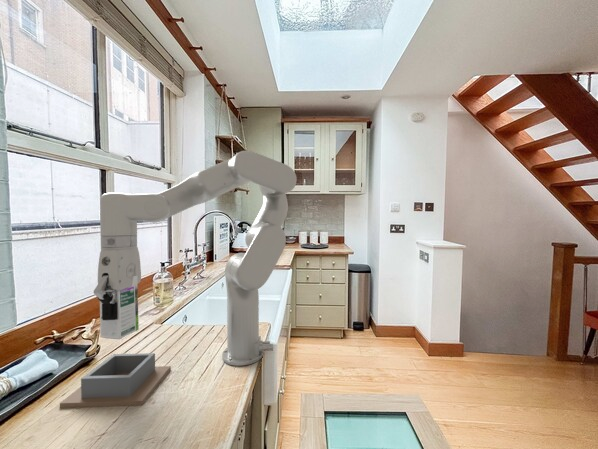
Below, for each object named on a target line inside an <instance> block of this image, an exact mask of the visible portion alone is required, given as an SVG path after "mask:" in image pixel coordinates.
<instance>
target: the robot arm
mask: <svg viewBox="0 0 598 449" xmlns="http://www.w3.org/2000/svg"><path fill="white" fill-rule="evenodd" d="M297 181H298V180H297V175H296V172H295V170H294V169H292V167H291V166H288V164H286V163H284V162H283V163H282V162H281V161H278V160H276V159H273V158H271V157H268V156H266V155H262V154H260V153H258V152H255V151H254V152H253V151H251V150H241V151H239V152H237V153H236V154H235V155H234V156H232V157H230V158H229V159H225V160H223V161H221V162H219V163H217V164H215V165H214V164H213V165H212V166H210V167H207V168H205V169H201V170H200V171H199V170H198V171H196V172H195V173H193V174H192V175H190V176H189V177H187V178H186V179H184V180H183V181H181V182H180V183H178V184H176V185H174V186H172V187H169V189H165V190H163V191H161V192H158V193H155V192H154V193H153V192H152V193H151V192H149V193H135V194H134V193H133V194H131V193H127V192H126V193H124V192H107V193H103V194H101V196H100V198H99V199H100V202H99V203H100V204H99V206H100V213H99V214H100V216H99V217H100V252H99V258H98V264H97V265H98V267H97V285H96V286H95V288H94V290H93V294H94V295H95V297H97V300H98V301H99V304H100V303H101V304H102V320H116V319H117V302H115V301H116V297H117V291H122V290H125V289H127V288H129V287H131V286H132V283H133V277H134V276H135V275H137V283H138V284H139V283H140V282H141V281H142V270H141V267H142V266H141V257H140V251H139V247H138V222H146V223H153V224H154V223H160V222H162V221H165V220H167V219H169V218H171V217H173V216H175V215H177V214H179V213H182V212H183V211H185V210H188V209H190V208H192V207H194V206H197V205H200V204H205V203H206V202H208V201H212V200H213V199H216V198H217V197H220V196H222V195H224V194H226V193H229V192H230V191H232V190H235V189H237V188H239V187H241V186H244V185H245V184H247V183H249V182H251V183H254V184H256V185H258V186H259V189H260V192H261V194H262V205H261V208H260V210H259V212H258V214H257V216H256V218H255V219H254V221H253V222H252V225H250V227H249V229H248V230H247V232H246V235H245V239H244V240H245V244H246V246H247V250H246V252H238V253H235V254H233V255H232V256H230V257H229V258H228V260H227V262H226V265H225V269H224V273H225V275H224V276H225V283H226V308H227V309H226V313H227V314H226V315H227V316H226V323H227V324H226V326H227V327H226V328H227V330H226V331H227V335H226V338H227V343H226V345H227V347H226V348H225V349H223V352H222V354H221V355H222V356H221V357H222V362H224V363H226V364H227V365H231V366H235V367H236V366H237V367H238V366H239V367H240V366H241V367H243V366H249V365H251V364H254V363H257V362H258V361H260V360H261V359H262V358H263V357H264V354H265V351H266V352H267V351H269V352H272V351H274V343H271V341H269V340H266V341H263V340H262V339H261V338H262V337H261V336H260V334H259V333H260V328H259V327H260V326H259V324H260V322H259V318H260V315H259V313H260V312H259V311H260V309H259V308H260V307H259V306H260V305H259V304H260V302H259V301H260V300H259V299H260V297H259V295H260V294H259V289H260V288H262V287H263V286H265V284H266V283H267V282H268V280H269V279H270V276H271V275H272V273H273V271H274V269H275V267H276V265H277V263H278V261H279V260H280V258H281V256H282V254H283V251H284V250H285V247H286V240H287V239H286V233H285V231H284V229H283V228H282V226H283V224H284V222H285V220H286V217H287V215H288V211H289V206H288V204H289V203H288V198H287V193H290V192H291V191H293V190H294V189H295V186H296V185H297ZM110 287H111V288H112V289H108V288H110ZM108 293H112V295H111V297H110V296H109V295H108Z"/></svg>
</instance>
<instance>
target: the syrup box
mask: <svg viewBox="0 0 598 449" xmlns="http://www.w3.org/2000/svg"><path fill="white" fill-rule="evenodd" d="M138 286H139V283H137V275H135V276H134V277H133V283H132V286H131V287H129V288H127V289H125V290H122V291H117V297H116V301H115V302H117V319H116V320H102V304H101V303H100V302H99V324H100V326H99V328H100V338H102V339H108V340H109V339H110V340H122V339H123V338H125V337H128V336H129V335H131V334H133V333H135V332H138V331H139V328H140V327H139V294H138V293H139V292H138V291H139V290H138ZM108 289H112V288H111V287H110V288H108ZM108 295H109V296H110V297H111V295H112V293H108Z"/></svg>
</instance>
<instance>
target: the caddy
mask: <svg viewBox="0 0 598 449" xmlns="http://www.w3.org/2000/svg"><path fill="white" fill-rule="evenodd" d="M171 368H172V367H171V365H168V366H167V365H165V366H164V365H163V366H156V353H155V352H152V353H114V354H112V355H111V356H110V357H108V358H106V360H104V361H103V362H101V363H100V364H99V365H97V366H96V367H95V368H93V369H92V370H91V371H90V372H88V373H86V374H85V375H84V376H83V377H82V378H81V379H80V387H78V388H77V389H76V390H75V391H73V392H72V393H71V394H70V395H68V396H67V397H66V398H64V399H63V400H62V401H60V402H59V408H60V409H61V408H62V409H65V408H66V409H67V408H94V407H95V408H96V407H98V408H99V407H129V406H131V407H132V406H133V407H134V406H143V404H144V403H145V402H146V401H147V400H148V399H149V397H150V396H151V395H152V393H154V391H155V390H156V389H157V388H158V386H159V385H160V384H161V382H163V380H164V378H165V377H166V376H167V375H168V374H169V373H170V371H171Z"/></svg>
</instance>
